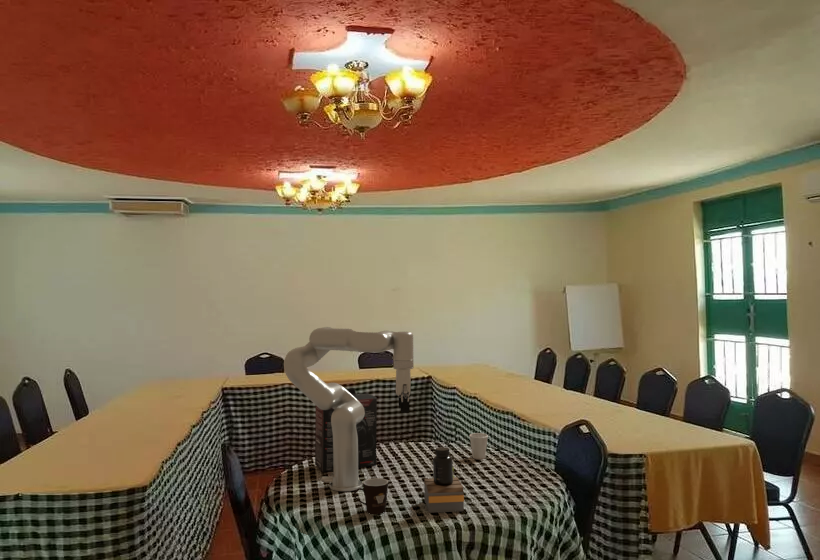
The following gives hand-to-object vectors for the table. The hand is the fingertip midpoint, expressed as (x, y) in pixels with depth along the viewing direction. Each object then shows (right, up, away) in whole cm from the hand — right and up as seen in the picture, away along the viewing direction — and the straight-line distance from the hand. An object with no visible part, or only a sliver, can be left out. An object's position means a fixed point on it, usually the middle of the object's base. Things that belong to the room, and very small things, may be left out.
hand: (403, 410), depth 239 cm
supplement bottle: (+14, -22, -17) cm, 31 cm away
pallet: (+14, -23, -17) cm, 32 cm away
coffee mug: (-11, -30, -22) cm, 39 cm away
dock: (+14, -30, -17) cm, 37 cm away
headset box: (-25, -31, +34) cm, 53 cm away
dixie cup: (+33, -31, +45) cm, 64 cm away
